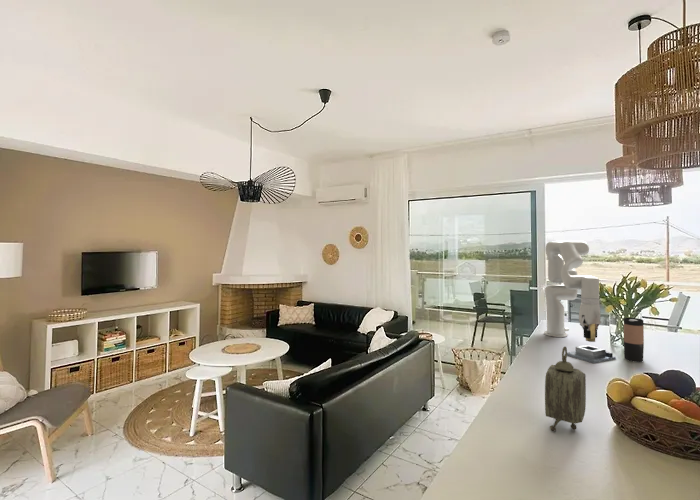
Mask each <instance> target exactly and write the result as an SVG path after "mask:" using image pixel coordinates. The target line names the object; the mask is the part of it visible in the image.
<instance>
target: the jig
mask: <svg viewBox="0 0 700 500" xmlns="http://www.w3.org/2000/svg"><path fill="white" fill-rule="evenodd" d="M567 357H572V358H575V359H578V360H581V361H585V362H588V363H592V364H597V363H604V362H608V361H613V360H614V361H615V360H616V358H617V357H616V356H614V355H613V352H610V351H606V349H605V348H600V347H597V346H593V345H590V344H585V345H579V346H575V351H569V352H568V351H567Z"/></svg>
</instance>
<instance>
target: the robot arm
mask: <svg viewBox="0 0 700 500" xmlns="http://www.w3.org/2000/svg"><path fill="white" fill-rule="evenodd" d="M589 251H590V247H589V245H588V243H587V242H586V241H584V240H553V241H549V242H547V243H546V245H545V254H546V257H547V279H548V281H549V283H550V282H551V283H554V284H550V285H547V286H546V287H545V289H544V294H545V299H546V301H545V302H546V330H544V332H543V334H544V335H545V336H548V337H549V336H550V337H553V338H554V337H555V338H566V337H568V333H566V332H569V331H570V329H569V328H568V327H565V306H564V304H563V303H562V302H561V301H574V300H576V299H577V297H578V290H580V294H581V295H580V296H581V297H580V306H579V310H578V323H579V325H580V326H581V328H582V330H583V338H585V339H586V338H588V339H590V338H591V331H589V330H590V325H591V324H595V339H598V330H599V326H600V325H601V323H602V322H601V319H602V318H601V317H602V316H601V307H600V279H599V278H598V277H596V276H592V275H589V274H588V275H587V274H586V275H583V274H582V275H581V274H578V272H577V270H576V269H577V268H579V267H581V266H582V265H583V263H584V260H583V258H582V256H586V255H588V253H589ZM555 283H556V284H555ZM557 283H558V284H557ZM586 323H587V324H586ZM586 325H588V326H586Z"/></svg>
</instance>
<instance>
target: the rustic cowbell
mask: <svg viewBox="0 0 700 500" xmlns="http://www.w3.org/2000/svg"><path fill="white" fill-rule="evenodd" d="M567 348H568V347H567V346H563V348H562V351H561V360H559V361H557V362H556V363H555V364H551V365H550V366H549V367H548V368H547V371H546V373H545V380H544V404H545V405H544V410H545V411H544V412H545V414H544V415H545V417H548V418H551V419H553V420H554V419H555V421H554V423H553V425H550V426H549V430H550V431H551V432H556V431H557V428H556V426H557V425H558V423H560V422H561V421H562V422H565V423H570V429H572V430H574V431H575V430H576V429H578V428H577V427H578V426H577V424H579V423H582V422H583V421H584V417H585V414H586V409H587V408H586V405H587V404H586V403H587V401H586V400H587V397H586V396H587V395H586V394H587V393H586V392H587V383H586V382H587V381H586V380H587V379H586V373H584V372H583V371H581V370H580V369H578V368H574V366H573V365H572V363H571V362H569V361H568V360H567V357H568V356H567V353H568V349H567Z"/></svg>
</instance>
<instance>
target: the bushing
mask: <svg viewBox="0 0 700 500" xmlns="http://www.w3.org/2000/svg"><path fill="white" fill-rule="evenodd" d="M586 324H587V323H586ZM586 326H588V325H586ZM589 331H591V338H590V339H588V338H585V341H586V342H590V343H596V338H595V324H591V325H590V330H589Z"/></svg>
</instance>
